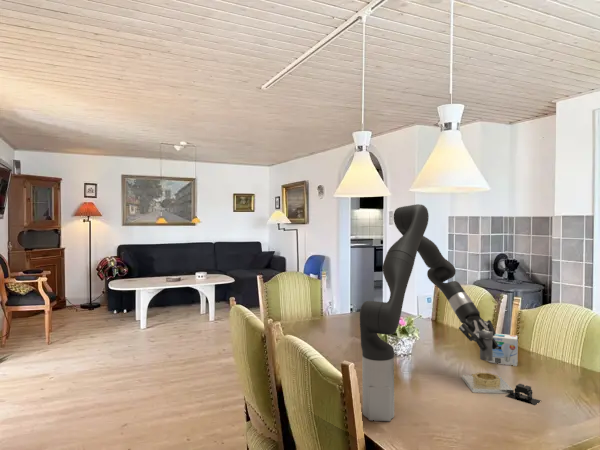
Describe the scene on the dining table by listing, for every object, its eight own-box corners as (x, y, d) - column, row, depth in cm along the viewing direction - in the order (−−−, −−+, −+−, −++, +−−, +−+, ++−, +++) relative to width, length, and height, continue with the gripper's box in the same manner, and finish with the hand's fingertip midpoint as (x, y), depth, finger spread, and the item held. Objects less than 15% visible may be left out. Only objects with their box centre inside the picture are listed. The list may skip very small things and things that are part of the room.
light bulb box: (488, 362, 173) (487, 336, 173) (489, 358, 179) (489, 332, 179) (517, 366, 168) (517, 339, 168) (518, 361, 174) (517, 335, 174)
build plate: (548, 403, 135) (548, 389, 135) (539, 410, 130) (538, 395, 130) (509, 391, 144) (509, 378, 144) (498, 397, 140) (498, 383, 140)
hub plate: (513, 393, 141) (513, 382, 141) (472, 392, 143) (472, 380, 143) (499, 379, 154) (499, 369, 154) (462, 378, 156) (462, 368, 156)
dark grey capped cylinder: (496, 360, 147) (495, 332, 147) (485, 361, 146) (484, 333, 146) (487, 356, 151) (487, 328, 151) (476, 357, 150) (476, 329, 150)
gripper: (454, 303, 152) (481, 345, 141) (483, 299, 158) (512, 340, 147) (443, 315, 157) (469, 357, 146) (472, 311, 163) (499, 351, 152)
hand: (490, 348), depth 147 cm, fingers closed on dark grey capped cylinder, 4 cm apart
